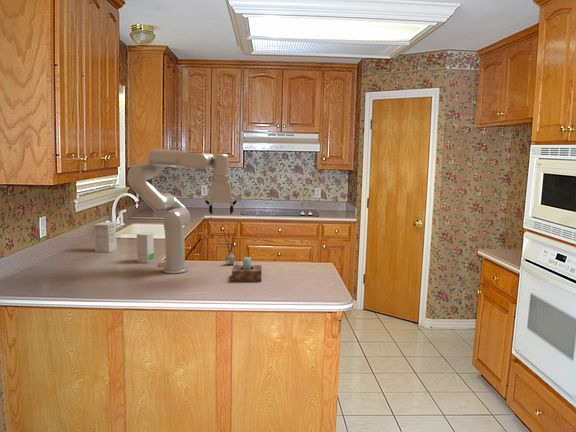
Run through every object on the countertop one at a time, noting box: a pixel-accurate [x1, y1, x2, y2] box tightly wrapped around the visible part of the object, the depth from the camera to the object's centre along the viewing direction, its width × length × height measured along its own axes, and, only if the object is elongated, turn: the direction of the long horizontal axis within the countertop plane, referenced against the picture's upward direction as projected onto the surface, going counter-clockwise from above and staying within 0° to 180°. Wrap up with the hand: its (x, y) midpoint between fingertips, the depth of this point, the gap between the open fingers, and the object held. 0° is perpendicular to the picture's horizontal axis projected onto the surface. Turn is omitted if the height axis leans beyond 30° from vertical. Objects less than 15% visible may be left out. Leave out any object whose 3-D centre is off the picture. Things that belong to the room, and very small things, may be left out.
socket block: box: [231, 264, 263, 283], centre depth 247 cm, size 14×12×5 cm
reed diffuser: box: [222, 228, 241, 265], centre depth 274 cm, size 10×7×20 cm
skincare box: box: [136, 232, 155, 264], centre depth 280 cm, size 8×7×16 cm
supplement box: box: [93, 221, 118, 253], centre depth 306 cm, size 10×9×17 cm
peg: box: [242, 256, 252, 270], centre depth 246 cm, size 4×4×10 cm
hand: (221, 213), depth 251 cm, fingers open, 9 cm apart
